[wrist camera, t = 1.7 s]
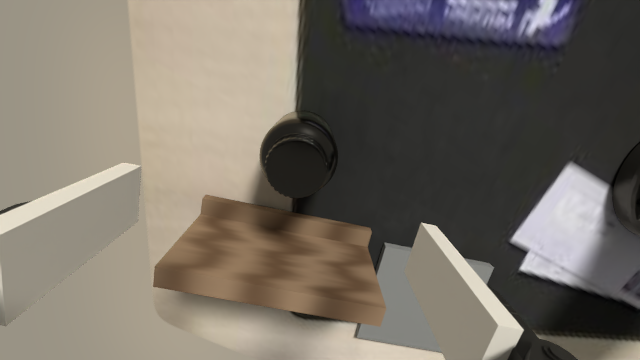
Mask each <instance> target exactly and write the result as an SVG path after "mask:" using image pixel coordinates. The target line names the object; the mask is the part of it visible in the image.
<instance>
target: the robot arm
mask: <svg viewBox="0 0 640 360" xmlns="http://www.w3.org/2000/svg"><path fill="white" fill-rule="evenodd" d="M140 178H141V166H138V165H134V164H128V163H121V164H119V165H116V166H114V167H112V168H110V169H107V170H105V171H102V172H100V173H98V174H95V175H93V176H91V177H88V178H86V179H83V180H81V181H79V182H76V183H74V184H72V185H69V186H67V187H65V188H62V189H60V190H57V191H55V192H53V193H50V194H48V195H46V196H43V197H41V198H39V199H36V200H34V201H29V202H25V203H20V204H16V205H13V206H11V207H8V208H6V209H4V210H1V211H0V325H2V326H7V325H8V324H9V323H11V322H12V321H13V320H14V319H16V318H17V317H18V316H19V315H21V314H22V313H23V312H24V311H26V310H27V309H28V308H29V307H31V306H32V305H33V304H34V303H35V302H37V301H38V300H40V299H41V298H42V297H43V296H45V295H46V294H47V293H48V292H50V291H51V290H52V289H53V288H55V287H56V286H57V285H58V284H60V283H61V282H62V281H63V280H65V279H66V278H67V277H68V276H70V275H71V274H72V273H74V272H75V271H76V270H77V269H79V268H80V267H81V266H82V265H84V264H85V263H86V262H87V261H88V260H90V259H91V258H93V257H94V256H95V255H96V254H98V253H99V252H100V251H101V250H102V249H104V248H105V247H106V246H108V245H109V244H110V243H111V242H113V241H114V240H115V239H116V238H118V237H119V236H120V235H121V234H123V233H124V232H125V231H127V230H128V229H129V228H130V227H131V226H133V225H134V224H135V223H137V221H138V212H139V195H140ZM613 205H614V210H615V213H616V215H617V217H618V219H619V221H620V222H621V223H622V225H623V226H624V227H625V228H627V229H628V230H629V231H631V232H632V233H634V234H636V235H638V236H640V143H639V144H638V145H637V146H636V147H635V148H634V149H633V151H632V152H631V153H630V154H629V156H628V157H627V158H626V160H625V161H624V163H623V165H622V167H621V168H620V170H619V173H618V175H617V178H616V181H615V184H614V190H613ZM404 272H405V275H406V277H407V279H408V281H409V283H410V285H411V287H412V289H413V292H414V294H415V296H416V298H417V300H418V302H419V304H420V306H421V309H422V311H423V313H424V315H425V317H426V319H427V321H428V323H429V326H430V328H431V330H432V332H433V334H434V336H435V338H436V340H437V343H438V345H439V347H440V349H441V351H442V353H443V355H444V357H445V359H446V360H578V359H576V358H575V357H574V356H573V355H572V354H571V353H569V352H568V351H566V350H565V349H563V348H561V347H560V346H558V345H556V344H554V343H552V342H549V341H546V340H542V339H539V338H538V337H537V336H536V335H535V334H534V332H533V331H532V330H531V329H530V328H529V327H528V326H527V324H526V323H525V322H524V321H523V320H522V319H521V317H520V316H519V315H517V314H516V312H515V311H514V309H513V308H512V307H511V306H509V304H508V303H507V301H506V300H505V299H504V298H503V297H502V296H501V295H500V294H499V293H498V292H497V291H495V290H494V289H493V288H491V287H490V286H489V285H486V284H485V283H484V282H483V281H482V280H481V278H480V277H479V276H478V275H477V274H476V272H475V271H474V270H473V269H472V268H471V267H470V265H469V264H468V263H467V262H466V261H465V259H464V258H463V257H462V256H461V255H460V253H459V252H458V251H457V250H456V249H455V248H454V246H453V245H452V244H451V243H450V242H449V240H448V239H447V238H446V237H445V236H444V234H443V233H442V232H441V231H440V230H439V229H438V227H437V226H434V225H429V224H425V223H421V225H420V228H419V230H418V233H417V236H416V239H415V242H414V245H413V248H412V250H411V253H410V256H409V259H408V262H407V265H406V268H405V271H404Z"/></svg>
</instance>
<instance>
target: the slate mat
mask: <svg viewBox="0 0 640 360" xmlns="http://www.w3.org/2000/svg"><path fill="white" fill-rule="evenodd" d="M411 250H412V248H409V247H404V246H399V245H394V244H389V243H384V245H383V248H382V251H381V254H380V257H379V261H378V264H377V267H376V270H375V273H376V276H377V280H378V283H379V286H380V289H381V293H382V296H383V299H384V302H385V305H386V311H385V314H384V317H383V320H382V323H381V326H380V327H378V326H373V325H367V324H361V323H359V324H358V327H357V330H356V336H357V338H362V339H367V340H373V341H379V342H385V343H391V344H396V345H402V346H408V347H414V348H419V349H425V350H431V351H437V352H442V351H441V349H440V347H439V345H438V343H437V340H436V338H435V336H434V334H433V332H432V330H431V328H430V326H429V323H428V321H427V319H426V317H425V315H424V313H423V311H422V309H421V306H420V304H419V302H418V300H417V298H416V296H415V294H414V292H413V289H412V287H411V285H410V283H409V281H408V279H407V277H406V275H405V272H404V271H405V268H406V265H407V262H408V259H409V256H410V253H411ZM464 259H465V258H464ZM465 261H466V262H467V263H468V264H469V265H470V267H471V268H472V269H473V270H474V271H475V272H476V274H477V275H478V276H479V277H480V278H481V280H482V281H483V282H484V283H485V284H487V282H488V280H489V278H490V275H491V273H492V271H493V269H494V267H493V266H492V265H491V264H490V263H485V262H480V261H475V260H470V259H465Z"/></svg>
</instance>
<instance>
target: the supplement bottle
mask: <svg viewBox="0 0 640 360" xmlns="http://www.w3.org/2000/svg"><path fill="white" fill-rule="evenodd" d="M337 162H338V151H337V146H336V143H335V140H334V136H333V133H332V131H331V128H330V127H329V125H328V123H327V122H326V121H325V120H324V119H323V118H322V117H320V116H319V115H317V114H315V113H313V112H310V111H294V112H291V113H289V114H287V115H285V116H284V117H283V118H281V119H280V120H279V121H278V122H277V123H276V124H275V125H274V126H273V127H272V128H271V129H270V130H269V132H268V133H267V134H266V136H265V138H264V140H263V142H262V145H261V148H260V163H261V167H262V170H263V172H264V174H265V176H266V178H267V179H268V181H269V182H270V184H271V186H272V187H274V189H275V190H276V191H278V192H279V193H280V194H283V195H284V196H289V197H290V198H293V197H295V198H299V197H301V198H303V197H305V196H309V195H310V194H314V193H315V191H317V190H319V189H321V188H322V187H324V186H325V185H326V184H327V183H328V182H329V181H330V179H331V178H332V176H333V175H334V173H335V170H336V167H337Z"/></svg>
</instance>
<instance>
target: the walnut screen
mask: <svg viewBox="0 0 640 360" xmlns="http://www.w3.org/2000/svg"><path fill="white" fill-rule="evenodd" d="M371 233H372V231H371V229H370V228H368V227H363V226H359V225H354V224H349V223H344V222H339V221H334V220H329V219H324V218H319V217H314V216H309V215H304V214H299V213H294V212H289V211H284V210H279V209H274V208H269V207H264V206H259V205H254V204H249V203H244V202H239V201H234V200H229V199H224V198H219V197H214V196H209V195H205V197H204V198H203V199H202V208H201V214H200V216H199V217H198V218H197V219H196V220H195V221H194V222H193V224H192V225H191V226H190V227H189V228H188V229H187V230H186V232H185V233H184V234H183V235H182V236H181V237H180V238H179V240H178V241H177V242H176V243H175V244H174V245H173V246H172V248H171V249H170V250H169V251H168V252H167V253H166V254H165V256H164V257H163V258H162V259H161V260H160V261H159V262H158V263H157V265H156V266H155V271H154V284H153V287H158V288H164V289H170V290H175V291H181V292H186V293H192V294H198V295H203V296H209V297H215V298H220V299H226V300H232V301H237V302H243V303H249V304H254V305H260V306H265V307H271V308H277V309H282V310H288V311H294V312H299V313H305V314H311V315H316V316H322V317H328V318H333V319H339V320H345V321H350V322H356V323H361V324H367V325H373V326H378V327H380V326H381V323H382V320H383V317H384V314H385V311H386V305H385V302H384V299H383V296H382V293H381V289H380V286H379V283H378V280H377V276H376V273H375V270H374V267H373V263H372V260H371V257H370V254H369V251H368V243H369V240H370V237H371Z"/></svg>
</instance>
